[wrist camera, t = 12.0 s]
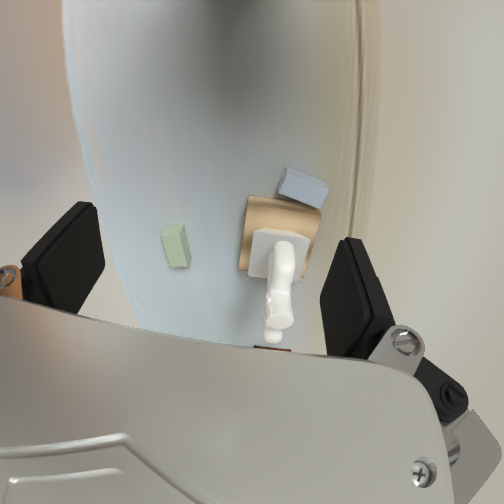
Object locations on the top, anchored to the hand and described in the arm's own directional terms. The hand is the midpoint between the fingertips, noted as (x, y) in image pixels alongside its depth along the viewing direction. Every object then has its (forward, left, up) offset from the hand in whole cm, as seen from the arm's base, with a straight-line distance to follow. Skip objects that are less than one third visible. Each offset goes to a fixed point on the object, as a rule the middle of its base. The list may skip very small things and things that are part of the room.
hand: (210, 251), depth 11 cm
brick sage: (+21, -9, -31) cm, 38 cm away
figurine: (+17, +6, -28) cm, 33 cm away
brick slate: (+9, +8, -31) cm, 33 cm away
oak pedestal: (+17, +6, -30) cm, 35 cm away
